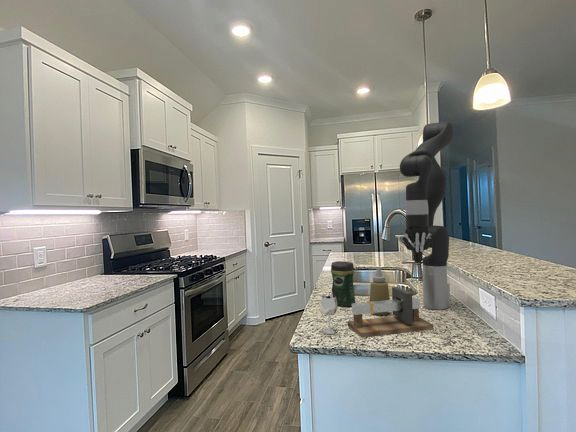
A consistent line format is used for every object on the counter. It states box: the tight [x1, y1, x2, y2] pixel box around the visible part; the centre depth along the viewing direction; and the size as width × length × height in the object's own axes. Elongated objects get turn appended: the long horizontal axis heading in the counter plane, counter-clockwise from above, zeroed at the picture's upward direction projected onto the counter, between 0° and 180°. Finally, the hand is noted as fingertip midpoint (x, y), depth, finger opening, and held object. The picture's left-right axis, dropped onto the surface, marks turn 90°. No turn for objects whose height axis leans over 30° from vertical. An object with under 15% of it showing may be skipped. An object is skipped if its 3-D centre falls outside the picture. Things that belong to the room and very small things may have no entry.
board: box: [347, 308, 435, 338], centre depth 120 cm, size 26×12×6 cm, turn 102°
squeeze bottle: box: [369, 266, 391, 316], centre depth 135 cm, size 8×8×18 cm
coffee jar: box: [330, 260, 356, 307], centre depth 149 cm, size 10×8×19 cm
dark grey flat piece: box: [391, 286, 413, 324], centre depth 121 cm, size 2×10×10 cm, turn 12°
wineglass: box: [319, 294, 338, 335], centre depth 118 cm, size 6×6×12 cm
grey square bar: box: [351, 297, 421, 315], centre depth 120 cm, size 24×4×4 cm, turn 102°
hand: (417, 262), depth 122 cm, fingers closed
